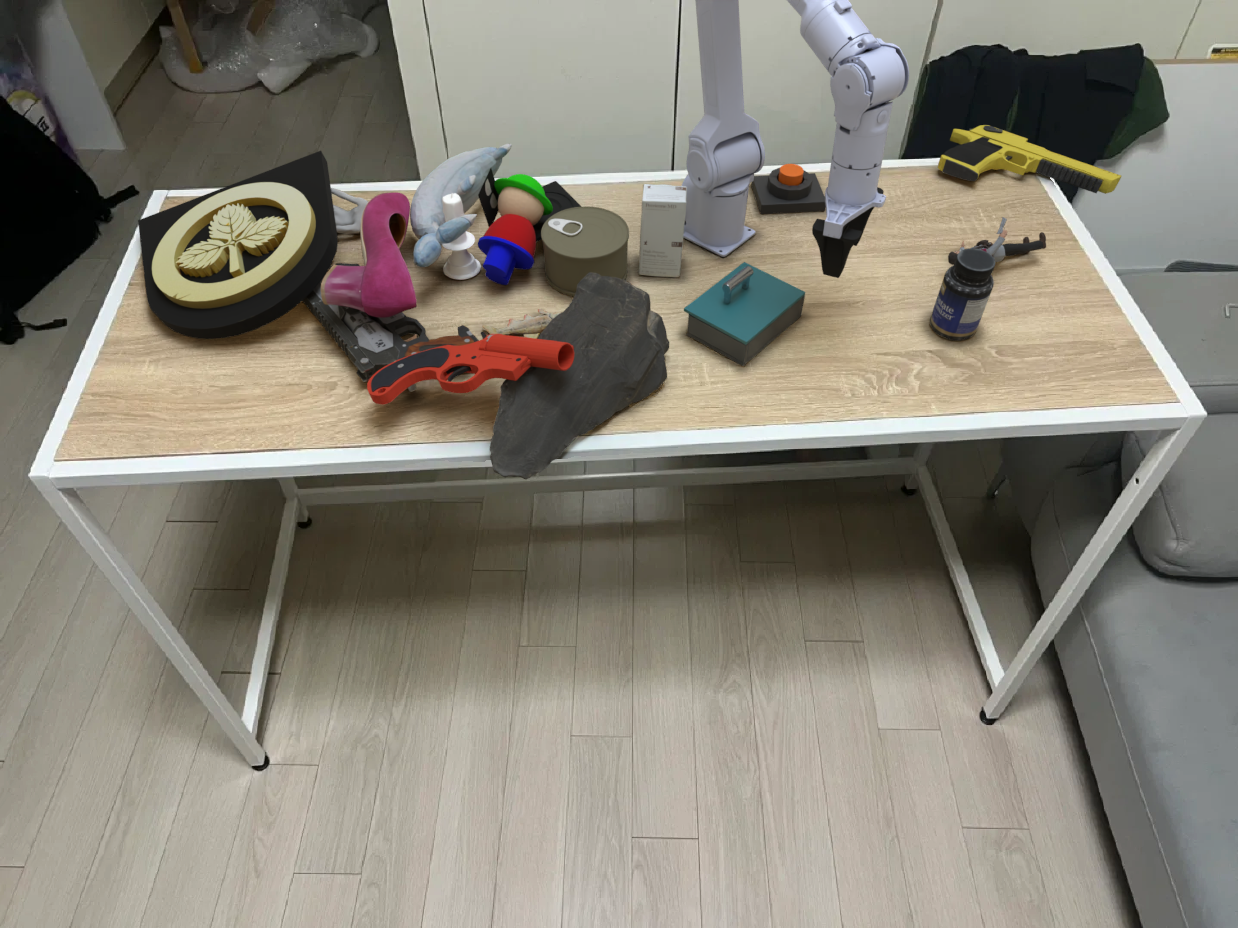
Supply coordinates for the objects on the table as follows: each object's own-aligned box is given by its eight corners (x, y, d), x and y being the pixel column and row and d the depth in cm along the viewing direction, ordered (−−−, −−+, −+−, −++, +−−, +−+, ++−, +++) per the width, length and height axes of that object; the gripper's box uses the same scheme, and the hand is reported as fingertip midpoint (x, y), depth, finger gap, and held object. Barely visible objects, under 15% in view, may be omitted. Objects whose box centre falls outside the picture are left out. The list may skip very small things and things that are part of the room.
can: (605, 308, 127) (604, 267, 122) (528, 284, 130) (524, 242, 125) (642, 260, 134) (643, 219, 129) (568, 238, 137) (566, 197, 132)
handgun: (1096, 209, 137) (1126, 167, 145) (929, 149, 147) (966, 112, 155) (1087, 229, 139) (1117, 186, 148) (923, 169, 149) (960, 132, 157)
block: (760, 214, 142) (762, 194, 139) (750, 185, 147) (753, 165, 144) (825, 211, 142) (828, 190, 139) (813, 182, 147) (817, 162, 145)
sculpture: (537, 213, 120) (525, 158, 141) (500, 165, 116) (494, 115, 137) (429, 291, 124) (433, 227, 144) (390, 248, 120) (400, 188, 140)
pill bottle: (920, 317, 125) (941, 249, 117) (960, 308, 127) (984, 240, 118) (944, 346, 122) (967, 277, 113) (985, 337, 123) (1011, 268, 115)
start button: (780, 187, 141) (782, 176, 140) (776, 174, 143) (777, 163, 142) (804, 186, 141) (806, 175, 140) (799, 173, 143) (800, 162, 142)
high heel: (386, 177, 132) (470, 186, 131) (393, 234, 137) (474, 243, 136) (310, 259, 112) (408, 270, 111) (321, 321, 118) (415, 333, 116)
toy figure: (464, 276, 132) (501, 184, 135) (527, 297, 132) (563, 205, 135) (455, 249, 123) (495, 151, 126) (522, 272, 123) (561, 173, 126)
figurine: (263, 247, 140) (392, 254, 139) (245, 235, 135) (380, 243, 133) (269, 183, 141) (398, 190, 139) (252, 169, 135) (386, 176, 134)
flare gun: (361, 406, 111) (440, 337, 119) (505, 435, 98) (582, 355, 107) (350, 385, 109) (431, 316, 118) (495, 411, 96) (574, 332, 105)
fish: (565, 300, 125) (577, 327, 123) (566, 308, 127) (577, 335, 124) (481, 320, 123) (490, 348, 120) (482, 329, 124) (492, 357, 122)
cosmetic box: (638, 276, 131) (639, 201, 122) (639, 257, 134) (641, 182, 125) (681, 278, 131) (686, 203, 122) (682, 259, 134) (687, 184, 125)
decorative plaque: (131, 354, 117) (128, 206, 134) (152, 375, 121) (146, 228, 137) (343, 274, 118) (313, 137, 134) (357, 297, 121) (327, 161, 138)
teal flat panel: (683, 311, 121) (684, 288, 118) (743, 264, 127) (746, 241, 125) (746, 345, 116) (749, 322, 114) (805, 294, 123) (809, 272, 120)
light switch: (496, 206, 136) (555, 179, 139) (501, 228, 140) (559, 202, 142) (528, 241, 131) (589, 213, 133) (533, 264, 134) (592, 236, 137)
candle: (455, 253, 135) (443, 179, 126) (487, 262, 133) (478, 188, 124) (436, 274, 131) (422, 200, 122) (469, 284, 130) (458, 209, 121)
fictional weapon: (389, 261, 135) (290, 296, 128) (386, 239, 132) (284, 274, 125) (490, 367, 120) (384, 412, 113) (489, 345, 117) (380, 390, 111)
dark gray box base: (686, 335, 123) (688, 314, 120) (745, 288, 130) (748, 267, 127) (743, 366, 119) (746, 345, 116) (801, 316, 126) (805, 295, 123)
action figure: (1055, 208, 129) (966, 222, 124) (1062, 257, 129) (974, 273, 125) (1008, 222, 137) (923, 236, 133) (1015, 269, 138) (931, 284, 134)
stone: (568, 286, 122) (431, 450, 108) (611, 247, 112) (465, 423, 98) (655, 368, 126) (533, 537, 112) (705, 338, 115) (576, 520, 101)
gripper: (874, 194, 102) (855, 297, 111) (907, 136, 111) (887, 236, 120) (811, 182, 104) (798, 283, 114) (849, 125, 113) (834, 224, 123)
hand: (840, 258), depth 117 cm, fingers open, 7 cm apart
